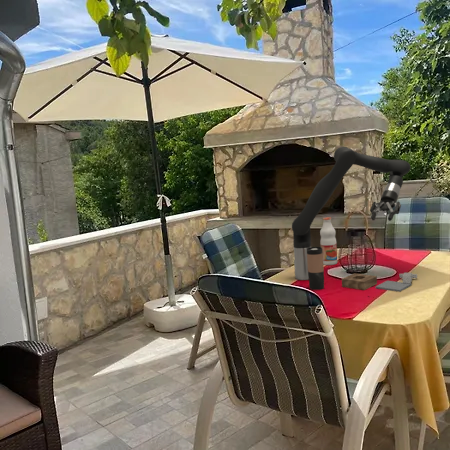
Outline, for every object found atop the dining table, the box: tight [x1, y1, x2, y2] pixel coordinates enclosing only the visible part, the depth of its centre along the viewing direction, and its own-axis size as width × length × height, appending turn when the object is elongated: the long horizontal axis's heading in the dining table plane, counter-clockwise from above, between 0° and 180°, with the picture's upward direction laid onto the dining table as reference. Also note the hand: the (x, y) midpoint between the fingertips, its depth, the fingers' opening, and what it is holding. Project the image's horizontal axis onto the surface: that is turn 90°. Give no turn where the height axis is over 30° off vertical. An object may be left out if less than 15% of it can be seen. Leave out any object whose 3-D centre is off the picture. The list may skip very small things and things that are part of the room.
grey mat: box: [374, 280, 413, 293], centre depth 208 cm, size 12×12×1 cm
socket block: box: [341, 272, 378, 291], centre depth 215 cm, size 12×12×4 cm
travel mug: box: [307, 246, 325, 291], centre depth 216 cm, size 8×8×20 cm
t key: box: [399, 272, 418, 284], centre depth 213 cm, size 8×4×12 cm
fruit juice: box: [319, 216, 338, 266], centre depth 264 cm, size 9×9×28 cm
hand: (380, 219), depth 216 cm, fingers open, 8 cm apart
